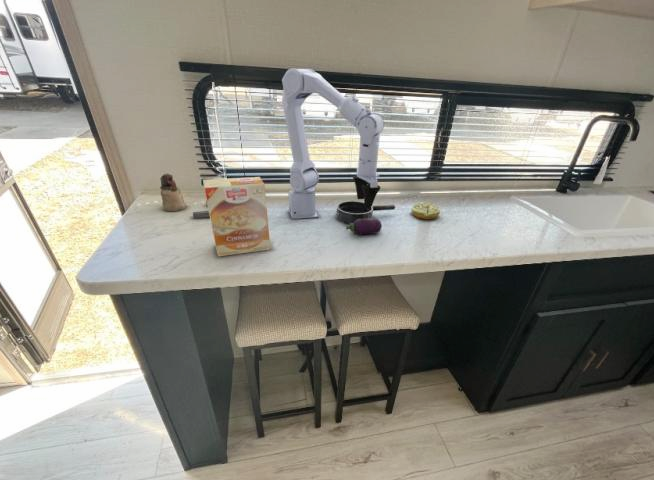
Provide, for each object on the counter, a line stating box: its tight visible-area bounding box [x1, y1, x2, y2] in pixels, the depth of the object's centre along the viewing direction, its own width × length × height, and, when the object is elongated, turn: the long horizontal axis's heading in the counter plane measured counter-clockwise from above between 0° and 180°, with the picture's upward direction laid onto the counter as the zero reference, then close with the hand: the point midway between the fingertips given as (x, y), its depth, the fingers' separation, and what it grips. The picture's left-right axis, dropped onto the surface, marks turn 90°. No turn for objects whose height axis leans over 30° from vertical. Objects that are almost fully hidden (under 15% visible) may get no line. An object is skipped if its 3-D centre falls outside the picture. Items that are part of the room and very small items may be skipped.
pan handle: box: [372, 204, 396, 212], centre depth 124 cm, size 10×2×2 cm, turn 108°
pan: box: [336, 200, 374, 225], centre depth 121 cm, size 13×13×4 cm
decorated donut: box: [410, 201, 441, 220], centre depth 127 cm, size 10×11×4 cm
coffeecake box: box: [202, 176, 271, 258], centre depth 93 cm, size 15×7×20 cm, turn 114°
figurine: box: [159, 172, 186, 212], centre depth 116 cm, size 7×7×12 cm
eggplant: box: [345, 217, 383, 235], centre depth 110 cm, size 12×5×5 cm, turn 107°
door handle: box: [192, 200, 210, 219], centre depth 118 cm, size 3×20×16 cm
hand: (364, 202), depth 109 cm, fingers open, 7 cm apart
